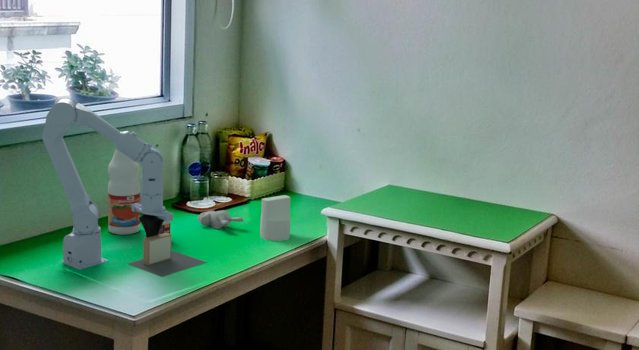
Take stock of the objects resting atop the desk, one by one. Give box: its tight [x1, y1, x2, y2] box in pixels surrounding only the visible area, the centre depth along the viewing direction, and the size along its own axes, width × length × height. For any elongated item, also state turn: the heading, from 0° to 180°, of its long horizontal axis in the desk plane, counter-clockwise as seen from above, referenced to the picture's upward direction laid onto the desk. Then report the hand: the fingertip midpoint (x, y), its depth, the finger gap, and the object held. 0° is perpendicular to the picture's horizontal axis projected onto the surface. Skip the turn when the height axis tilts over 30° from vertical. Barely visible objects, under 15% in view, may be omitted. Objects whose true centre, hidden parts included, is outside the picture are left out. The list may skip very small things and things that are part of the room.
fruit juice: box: [107, 148, 141, 236], centre depth 250 cm, size 9×9×28 cm
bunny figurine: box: [197, 209, 244, 230], centre depth 261 cm, size 10×5×15 cm
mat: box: [127, 250, 208, 278], centre depth 225 cm, size 16×14×1 cm
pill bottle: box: [158, 220, 171, 235], centre depth 243 cm, size 5×5×8 cm
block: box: [142, 233, 172, 265], centre depth 226 cm, size 8×2×7 cm, turn 141°
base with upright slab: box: [259, 194, 291, 242], centre depth 253 cm, size 9×9×12 cm
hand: (152, 241), depth 227 cm, fingers closed
